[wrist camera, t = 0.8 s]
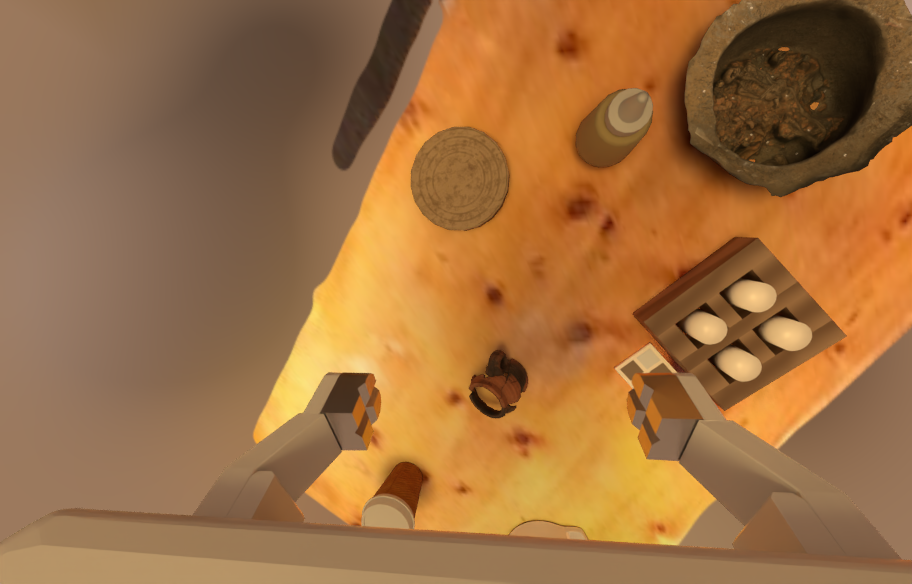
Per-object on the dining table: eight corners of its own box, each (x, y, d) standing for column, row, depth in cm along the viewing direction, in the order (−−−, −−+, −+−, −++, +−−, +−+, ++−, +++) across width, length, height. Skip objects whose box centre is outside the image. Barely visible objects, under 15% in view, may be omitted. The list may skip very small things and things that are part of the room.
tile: (678, 373, 54) (679, 375, 54) (641, 398, 56) (642, 399, 55) (649, 342, 54) (650, 343, 54) (613, 367, 56) (614, 369, 55)
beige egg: (756, 292, 48) (783, 299, 43) (731, 309, 49) (754, 318, 44) (738, 272, 48) (763, 276, 43) (713, 290, 49) (734, 296, 44)
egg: (712, 322, 50) (734, 332, 45) (689, 338, 51) (707, 350, 46) (695, 303, 50) (714, 310, 45) (671, 319, 51) (688, 329, 46)
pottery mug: (534, 397, 60) (514, 430, 54) (489, 384, 65) (466, 412, 60) (528, 342, 55) (505, 371, 49) (480, 332, 61) (454, 358, 55)
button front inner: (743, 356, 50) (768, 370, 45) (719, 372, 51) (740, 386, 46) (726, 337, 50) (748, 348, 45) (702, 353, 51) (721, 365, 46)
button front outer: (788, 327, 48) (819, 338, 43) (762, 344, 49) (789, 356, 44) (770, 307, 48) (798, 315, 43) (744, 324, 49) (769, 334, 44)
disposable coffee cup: (422, 503, 68) (402, 560, 56) (380, 483, 69) (352, 535, 57) (437, 466, 65) (419, 517, 54) (393, 447, 66) (367, 492, 55)
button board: (814, 326, 49) (846, 336, 45) (706, 394, 54) (724, 410, 49) (734, 237, 49) (758, 237, 44) (632, 313, 54) (643, 322, 49)
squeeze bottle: (630, 164, 50) (691, 128, 33) (575, 177, 52) (605, 149, 34) (624, 109, 49) (683, 40, 31) (567, 123, 51) (594, 66, 33)
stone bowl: (764, 232, 48) (814, 229, 39) (623, 134, 51) (640, 111, 42) (925, 73, 42) (1029, 27, 33) (754, -29, 45) (807, -97, 36)
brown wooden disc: (458, 250, 57) (454, 250, 54) (397, 181, 57) (391, 178, 54) (529, 184, 53) (530, 181, 50) (465, 110, 53) (462, 103, 50)
